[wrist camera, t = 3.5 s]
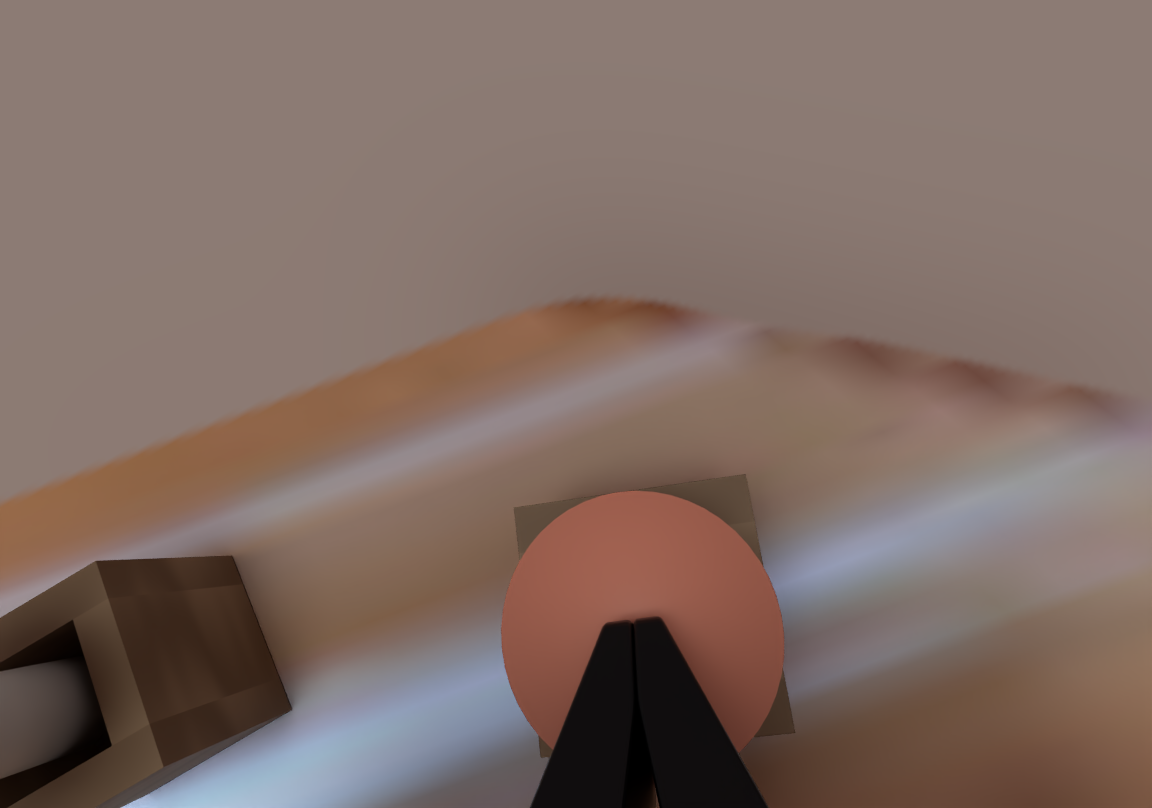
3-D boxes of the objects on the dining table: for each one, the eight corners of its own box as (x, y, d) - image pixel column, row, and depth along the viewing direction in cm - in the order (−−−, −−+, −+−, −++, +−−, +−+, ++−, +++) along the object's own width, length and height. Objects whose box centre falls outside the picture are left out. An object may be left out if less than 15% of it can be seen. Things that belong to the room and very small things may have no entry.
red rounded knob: (761, 688, 14) (812, 774, 9) (571, 708, 14) (516, 800, 9) (725, 495, 15) (753, 472, 10) (549, 520, 15) (488, 510, 10)
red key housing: (761, 679, 15) (795, 733, 11) (576, 699, 16) (540, 757, 12) (726, 490, 16) (745, 474, 12) (554, 515, 17) (513, 508, 13)
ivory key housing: (291, 709, 17) (163, 767, 13) (146, 795, 17) (-29, 880, 13) (231, 555, 18) (95, 560, 14) (95, 636, 18) (-81, 666, 14)
